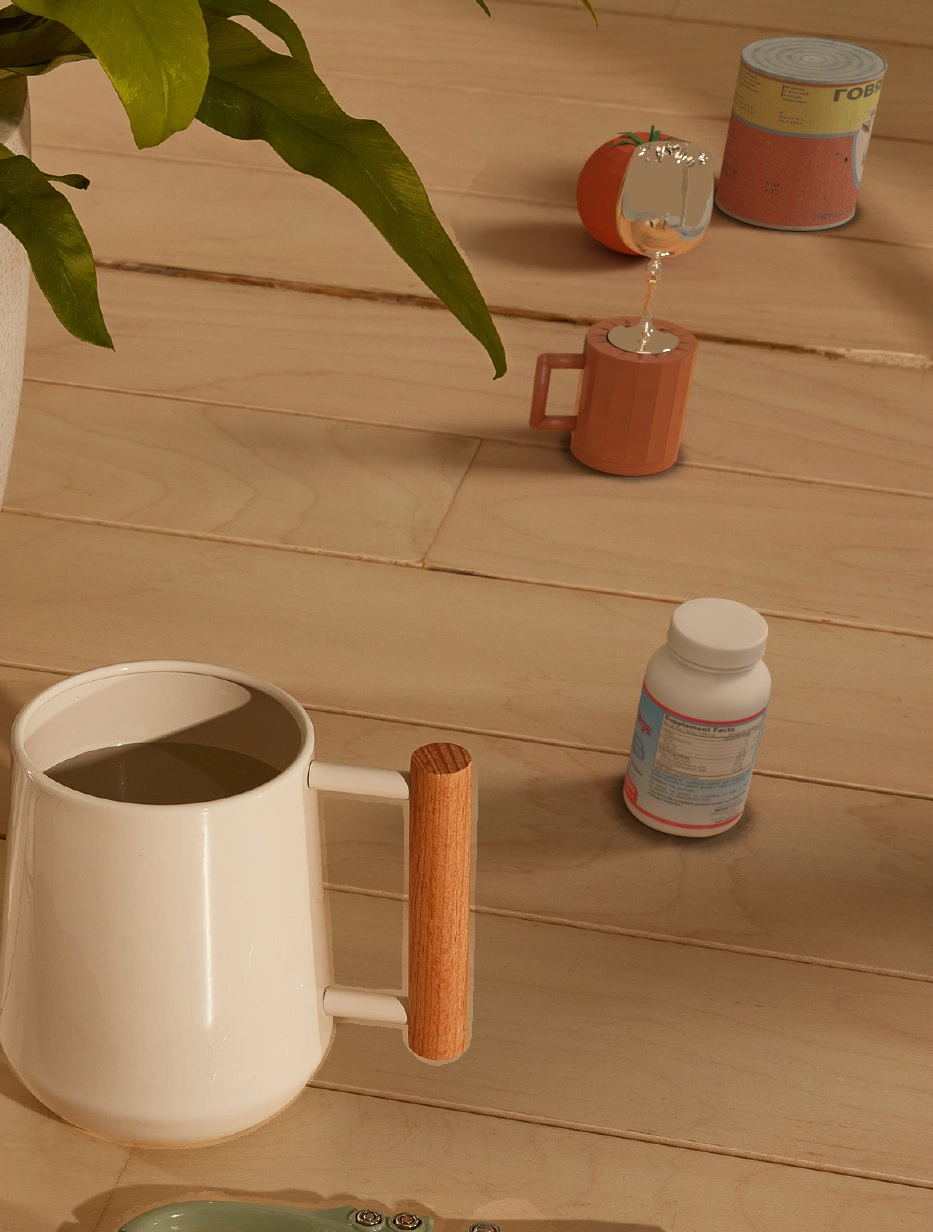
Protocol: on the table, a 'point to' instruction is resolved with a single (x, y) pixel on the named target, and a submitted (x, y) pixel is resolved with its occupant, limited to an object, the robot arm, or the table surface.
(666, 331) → the wineglass
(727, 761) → the pill bottle
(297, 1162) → the table surface
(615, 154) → the tomato
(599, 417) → the mug
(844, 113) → the canned food
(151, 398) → the table surface
